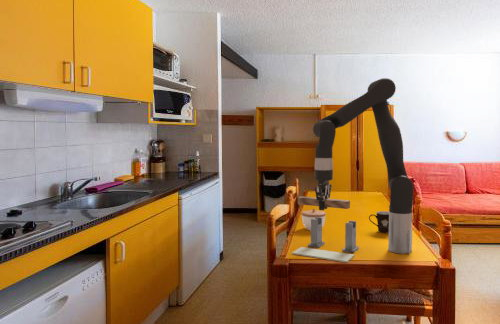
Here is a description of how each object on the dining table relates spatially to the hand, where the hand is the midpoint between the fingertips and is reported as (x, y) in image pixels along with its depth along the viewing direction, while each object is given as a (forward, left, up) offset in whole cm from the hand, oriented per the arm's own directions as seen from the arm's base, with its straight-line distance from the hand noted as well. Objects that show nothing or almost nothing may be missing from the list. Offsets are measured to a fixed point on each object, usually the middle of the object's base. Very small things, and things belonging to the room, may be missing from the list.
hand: (323, 209), depth 175 cm
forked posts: (0, -13, -20) cm, 23 cm away
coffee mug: (-12, -55, -20) cm, 60 cm away
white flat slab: (0, 0, -20) cm, 20 cm away
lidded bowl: (+21, -42, -20) cm, 51 cm away
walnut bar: (0, 0, +1) cm, 1 cm away
